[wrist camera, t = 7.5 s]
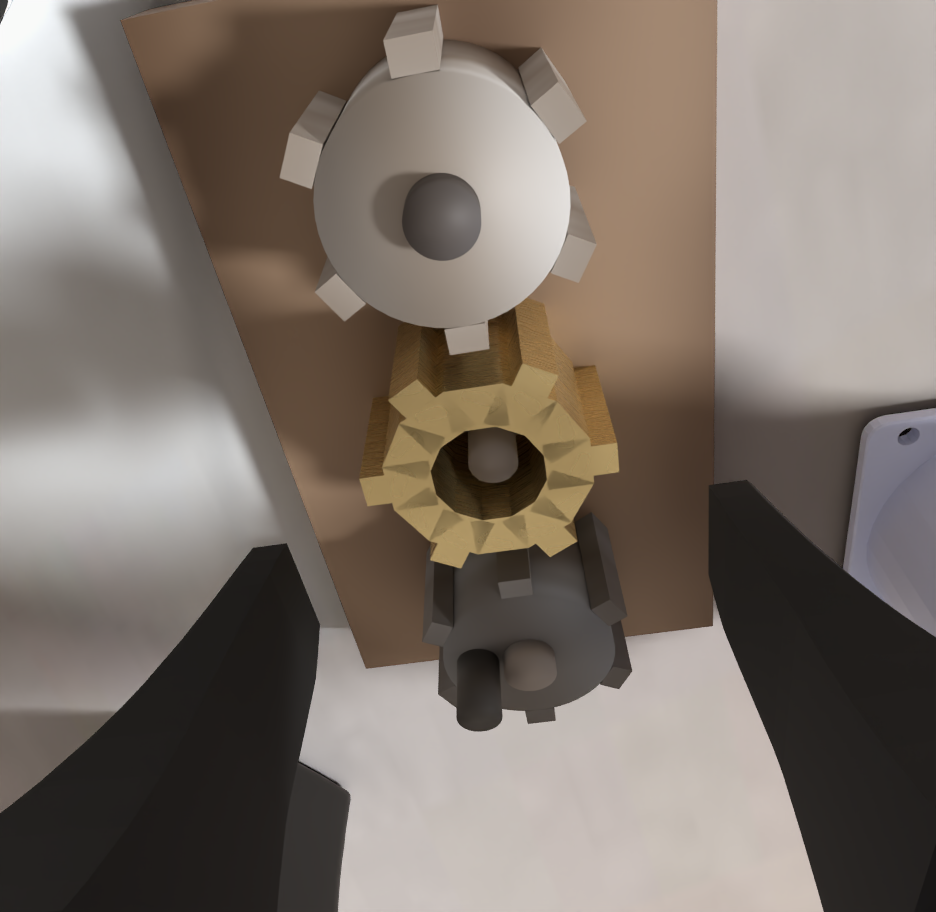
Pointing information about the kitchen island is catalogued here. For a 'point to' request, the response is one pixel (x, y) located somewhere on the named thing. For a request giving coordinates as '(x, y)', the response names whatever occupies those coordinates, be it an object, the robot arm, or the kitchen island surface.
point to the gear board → (590, 320)
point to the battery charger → (313, 844)
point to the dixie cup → (4, 7)
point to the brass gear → (483, 406)
